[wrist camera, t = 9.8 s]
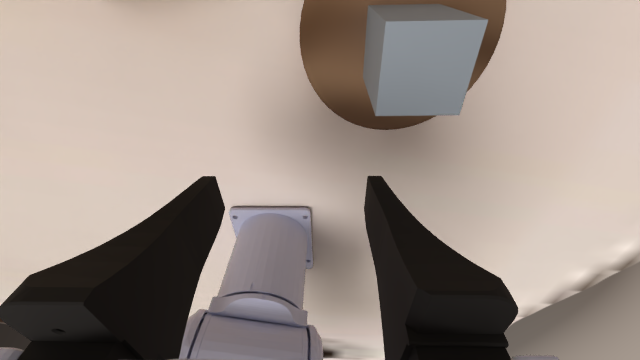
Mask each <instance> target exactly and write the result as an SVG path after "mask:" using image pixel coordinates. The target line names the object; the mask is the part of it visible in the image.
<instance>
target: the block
mask: <svg viewBox="0 0 640 360" xmlns="http://www.w3.org/2000/svg"><path fill="white" fill-rule="evenodd" d="M487 23H488V19H485V18H482V17H479V16H476V15H472V14H469V13H466V12H463V11H460V10H457V9H454V8H451V7H448V6H444V5H441V4H407V5H368V13H367V26H366V40H365V54H364V67H363V79H364V82H365V85H366V88H367V91H368V95H369V98H370V101H371V104H372V107H373V110H374V113H375V116H425V115H460V111H461V108H462V105H463V102H464V98H465V95H466V92H467V88H468V85H469V82H470V79H471V75H472V72H473V69H474V66H475V62H476V59H477V56H478V52H479V49H480V46H481V43H482V39H483V36H484V33H485V29H486V26H487Z"/></svg>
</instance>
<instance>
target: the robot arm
mask: <svg viewBox="0 0 640 360" xmlns="http://www.w3.org/2000/svg"><path fill="white" fill-rule="evenodd" d="M224 210H225V206H224V203H223V200H222V196H221V193H220V190H219V187H218V183H217V180H216V177H215V176H203V177H201V178H200V179H198V180H197V181H196V182H194V183H193V184H192V185H191V186H189V187H188V188H187V189H186V190H184V191H183V192H182V193H181V194H179V195H178V196H177V197H176V198H174V199H173V200H172V201H170V202H169V203H168V204H166V205H165V206H164V207H162V208H161V209H160V210H158V211H157V212H155V213H154V214H153V215H151V216H150V217H148V218H147V219H145V220H144V221H142V222H141V223H139V224H138V225H136V226H134V227H133V228H131V229H129V230H128V231H126V232H124V233H123V234H121V235H119V236H117V237H115V238H113V239H111V240H109V241H108V242H106V243H104V244H102V245H100V246H98V247H96V248H94V249H92V250H90V251H87V252H85V253H83V254H81V255H79V256H76V257H74V258H72V259H70V260H67V261H65V262H62V263H60V264H57V265H55V266H52V267H50V268H47V269H44V270H42V271H39V272H37V273H34V274H31V275H29V276H28V277H27V278H26V279H25V281H24V282H23V283H22V284H21V285H20V286H19V287H18V288H17V289H16V290H15V291H14V292H13V293H12V294H11V295H10V296H9V297H8V298H7V299H6V300H5V301H4V303H3V304H2V305H1V306H0V318H1V320H2V321H4V322H5V323H6V324H7V325H9V326H10V327H12V328H13V329H15V330H16V331H18V332H19V333H20V334H22V335H23V336H25V337H26V338H28V339H29V340H31V341H32V342H31V343H30V344H29V345H28V347H27V348H26V349H25V350H21V349H18V348H0V360H323V347H322V341H321V337H320V335H319V334H318V332H317V330H316V328H315V327H314V326H313V325H307V314H308V312H307V311H305V310H303V297H304V283H305V269H311V268H312V267H313V253H312V234H311V214H310V210H309V209H308V208H238V207H234V208H231V209H230V211H229V215H230V218H231V221H232V225H233V228H234V231H235V235H236V238H237V239H236V242H235V245H234V248H233V251H232V254H231V257H230V260H229V263H228V266H227V269H226V272H225V275H224V278H223V281H222V284H221V287H220V290H219V293H218V296H217V297H213V298H212V301H211V303H210V306H209V309H208V310H204V309H199V310H198V311H197V312H196V313H195V314H193V315H192V316H190V317H189V318H188V316H189V312H190V309H191V305H192V301H193V298H194V294H195V291H196V287H197V284H198V281H199V277H200V274H201V272H202V269H203V266H204V264H205V262H206V259H207V257H208V255H209V252H210V250H211V248H212V245H213V243H214V241H215V238H216V236H217V233H218V231H219V229H220V226H221V222H222V219H223V215H224ZM364 211H365V221H366V229H367V234H368V238H369V243H370V247H371V252H372V256H373V260H374V265H375V270H376V275H377V283H378V291H379V300H380V309H381V319H382V329H383V340H384V352H385V360H559V359H558V358H557V357H555V356H551V355H548V356H547V355H519V356H515V357H512V358H510V356H509V354H508V352H507V350H506V348H507V347H508V341H507V339H506V337H505V335H504V332H505V330H506V329H507V328H508V327H509V326H510V324H511V323H512V322H513V321H514V319H515V317H516V316H517V314H518V307H517V305H516V303H515V301H514V299H513V298H512V296H511V294H510V292H509V290H508V289H507V287H506V286H505V284H504V283H503V281H502V280H501V278H499V277H497V276H495V275H494V274H492V273H490V272H488V271H487V270H485V269H483V268H481V267H479V266H478V265H476V264H474V263H473V262H471V261H469V260H468V259H466V258H465V257H463V256H462V255H460V254H459V253H457V252H456V251H454V250H453V249H451V248H450V247H449V246H447V245H446V244H445V243H443V242H442V241H441V240H439V239H438V238H437V237H436V236H434V235H433V234H432V233H431V232H430V231H429V230H427V229H426V228H425V227H424V226H423V225H422V224H421V223H420V222H419V221H418V220H417V219H416V218H415V217H414V216H413V215H412V214H411V213H410V212H409V211H408V210H407V208H406V207H405V206H404V205H403V204H402V203H401V201H400V200H399V199H398V198H397V197H396V195H395V194H394V193H393V191H392V190H391V189H390V187H389V186H388V185H387V183H386V182H385V180H384V179H383V178H382V177H381V176H368V179H367V188H366V197H365V206H364ZM234 215H235V216H234Z"/></svg>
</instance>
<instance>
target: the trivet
mask: <svg viewBox="0 0 640 360" xmlns="http://www.w3.org/2000/svg"><path fill="white" fill-rule="evenodd" d="M407 4H441V5H444V6H448V7H451V8H454V9H457V10H460V11H463V12H466V13H469V14H472V15H476V16H479V17H482V18H485V19H488V23H487V26H486V29H485V33H484V36H483V39H482V43H481V46H480V49H479V52H478V56H477V59H476V62H475V66H474V69H473V72H472V75H471V79H470V82H469V85H468V88H467V91H468V90H469V89H470V88H471V87H472V86H473V84H474V83H475V82H476V81H477V79H478V78H479V77H480V75H481V74H482V72H483V71H484V69H485V68H486V66H487V64H488V63H489V61H490V59H491V57H492V55H493V53H494V51H495V48H496V46H497V43H498V41H499V38H500V34H501V31H502V27H503V24H504V17H505V11H506V0H304V4H303V9H302V13H301V22H300V48H301V56H302V60H303V64H304V68H305V71H306V73H307V76H308V79H309V81H310V83H311V85H312V87H313V88H314V90H315V92H316V93H317V94H318V96H319V97H320V99H321V100H322V101H323V102H324V103H325V104H326V105H327V106H328V108H330V109H331V110H332V111H333V112H335V113H336V114H337V115H339V116H340V117H342V118H343V119H345V120H347V121H349V122H351V123H353V124H356V125H359V126H362V127H366V128H372V129H382V130H389V129H400V128H405V127H410V126H413V125H416V124H419V123H422V122H424V121H427V120H429V119H431V118H433V117H435V116H437V115H425V116H375V113H374V110H373V107H372V104H371V101H370V98H369V95H368V91H367V88H366V85H365V82H364V79H363V67H364V54H365V40H366V26H367V13H368V5H407Z"/></svg>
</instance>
